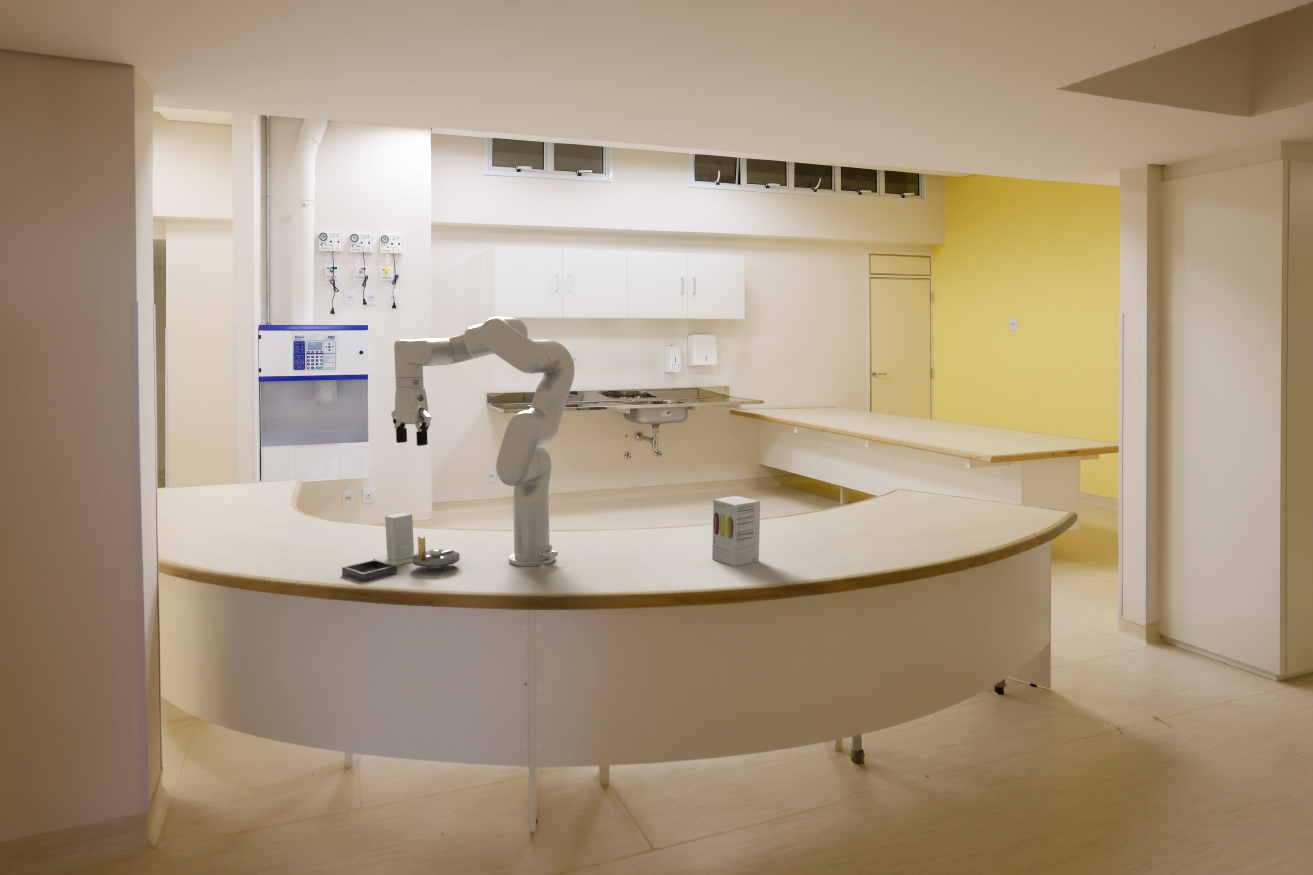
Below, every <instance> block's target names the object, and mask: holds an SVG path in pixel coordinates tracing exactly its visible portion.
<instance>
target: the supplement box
mask: <svg viewBox="0 0 1313 875" xmlns="http://www.w3.org/2000/svg"><path fill="white" fill-rule="evenodd" d="M712 502H713V504H712V506H713V507H712V508H713V509H712V510H713V511H712V512H713V513H712V548H711V549H712V551H711V552H712V555H711V556H712V558H711V559H712V560H714V561H718V562H720V563H723V564H727V565H729V566H732V567H738V566H739V567H740V566H743V565H747V564H752V563H756V562H759V560H760V559H759V558H760V528H761V527H760V524H761V523H760V522H761V519H760V518H761V501H760V500H755V499H752V498H748V497H743V496H740V495H734V496H728V497H727V496H726V497H719V498H715V499H713V501H712Z"/></svg>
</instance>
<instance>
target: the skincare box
mask: <svg viewBox="0 0 1313 875" xmlns="http://www.w3.org/2000/svg"><path fill="white" fill-rule="evenodd" d="M384 520H385V521H384V522H385V523H384V524H385V538H386V539H385V540H386V556H387V558H388V559H390V560H393V561H398V560H402V559H406V558H410V557H413V556H414V554H415V543H414V526H413V525H414V524H413V523H414V522H413V514H411V513H407V512H400V513H399V512H398V513H395V514H390V515H389V514H388V515H385V516H384Z"/></svg>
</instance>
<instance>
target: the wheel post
mask: <svg viewBox="0 0 1313 875" xmlns="http://www.w3.org/2000/svg"><path fill="white" fill-rule="evenodd" d="M446 569H447V565H446V566H439V567H426V570H427V571H429V572H440V571H444V570H446Z"/></svg>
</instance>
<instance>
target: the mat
mask: <svg viewBox="0 0 1313 875" xmlns="http://www.w3.org/2000/svg"><path fill="white" fill-rule="evenodd" d="M416 554H417V553H414V555H416ZM375 559H376V560H379V561H383V562H386V563H389V564H392V565H396V566H402V565H406V564H411V563H413V562H412V557H410V558H406V559H402V560H398V561H393V560H390V559H388V558H387V555H384V556H383V555H382V556H380V557H375V558H372V560H375Z"/></svg>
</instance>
